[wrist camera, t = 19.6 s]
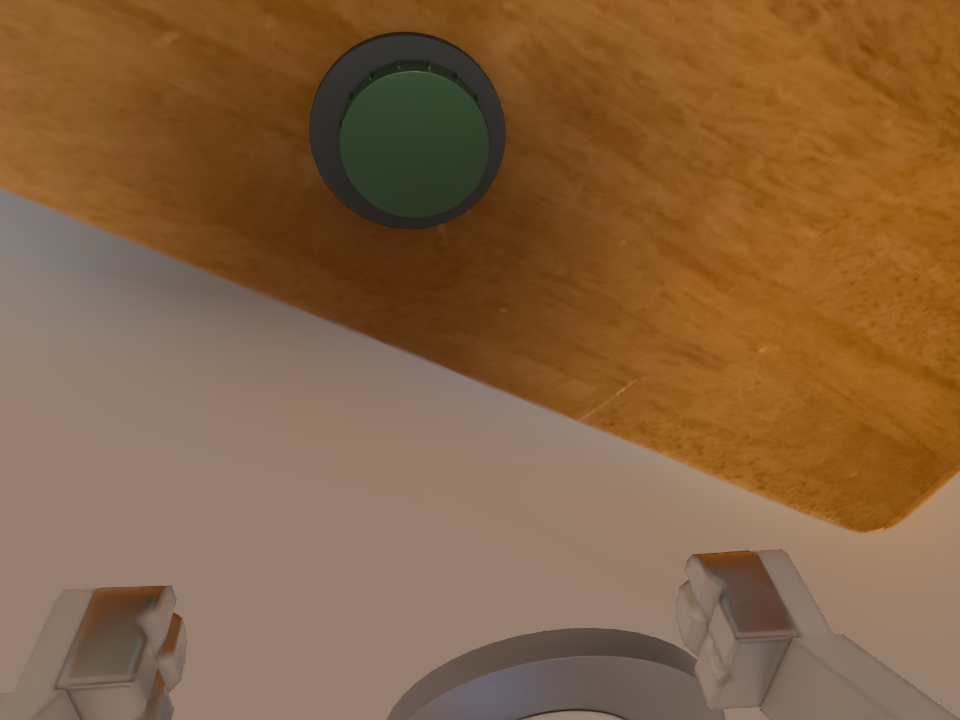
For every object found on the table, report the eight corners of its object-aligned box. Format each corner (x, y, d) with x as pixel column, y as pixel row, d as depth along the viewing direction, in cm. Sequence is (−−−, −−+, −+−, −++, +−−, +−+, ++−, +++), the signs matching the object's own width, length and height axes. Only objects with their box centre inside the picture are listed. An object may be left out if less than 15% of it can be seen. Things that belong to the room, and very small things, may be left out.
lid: (488, 60, 29) (493, 71, 27) (482, 202, 32) (486, 218, 31) (335, 57, 28) (332, 68, 27) (345, 202, 31) (343, 219, 30)
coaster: (442, 253, 34) (443, 258, 33) (279, 169, 31) (277, 174, 30) (540, 100, 30) (543, 104, 30) (366, -12, 27) (365, -9, 27)
